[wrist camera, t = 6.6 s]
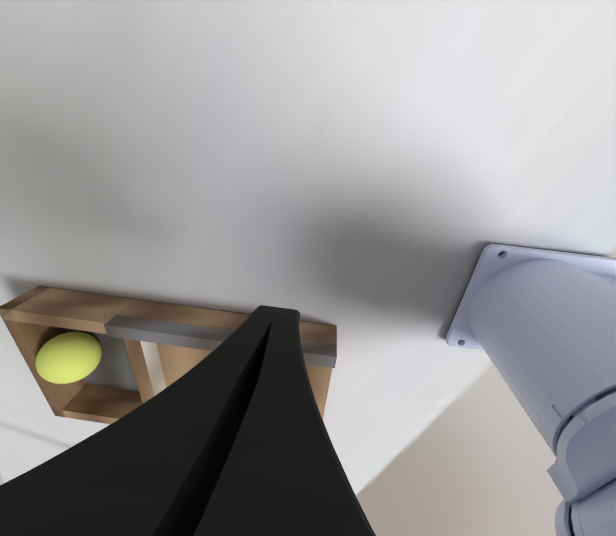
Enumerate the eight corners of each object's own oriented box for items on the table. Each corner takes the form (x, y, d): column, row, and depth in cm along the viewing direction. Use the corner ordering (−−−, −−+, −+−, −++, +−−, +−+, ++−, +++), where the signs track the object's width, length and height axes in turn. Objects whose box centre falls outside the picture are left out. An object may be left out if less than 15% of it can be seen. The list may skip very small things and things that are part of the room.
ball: (63, 357, 19) (8, 356, 19) (84, 395, 21) (35, 395, 21) (103, 321, 23) (57, 321, 23) (118, 357, 24) (76, 356, 25)
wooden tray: (336, 325, 21) (336, 357, 18) (319, 422, 26) (317, 458, 23) (38, 286, 22) (-7, 309, 19) (82, 387, 27) (53, 417, 24)
